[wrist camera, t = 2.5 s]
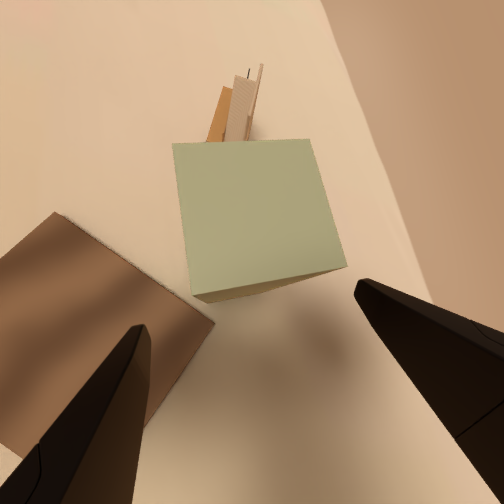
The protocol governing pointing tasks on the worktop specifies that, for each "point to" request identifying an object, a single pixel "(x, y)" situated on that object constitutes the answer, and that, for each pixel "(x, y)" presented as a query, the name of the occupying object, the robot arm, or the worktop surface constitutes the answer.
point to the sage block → (253, 216)
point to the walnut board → (78, 326)
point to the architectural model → (235, 111)
